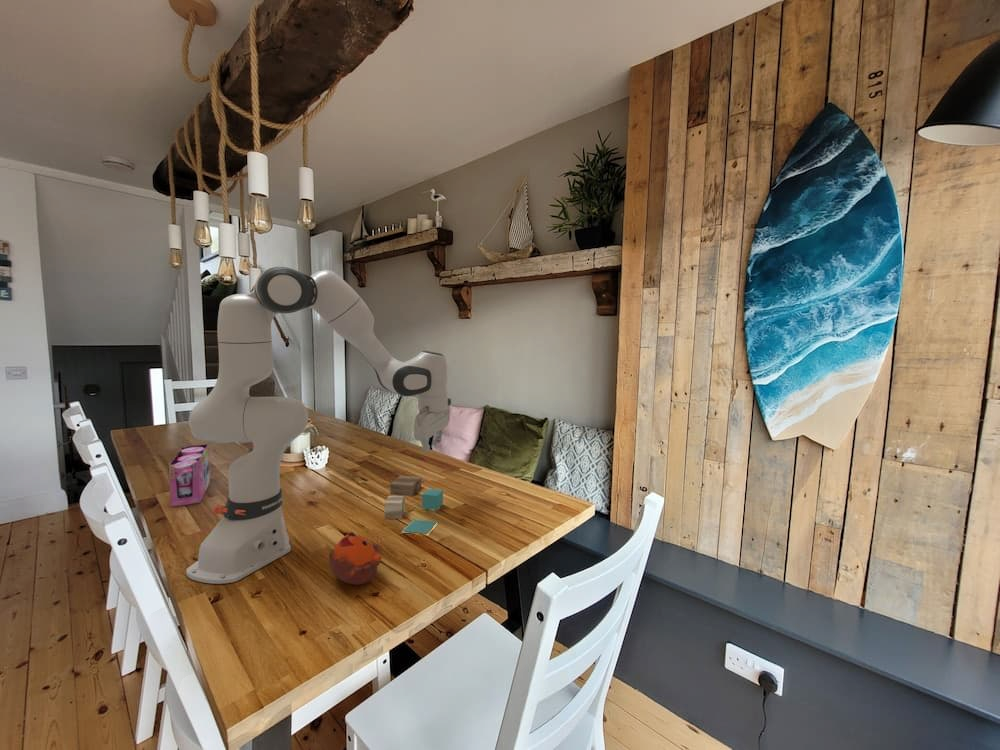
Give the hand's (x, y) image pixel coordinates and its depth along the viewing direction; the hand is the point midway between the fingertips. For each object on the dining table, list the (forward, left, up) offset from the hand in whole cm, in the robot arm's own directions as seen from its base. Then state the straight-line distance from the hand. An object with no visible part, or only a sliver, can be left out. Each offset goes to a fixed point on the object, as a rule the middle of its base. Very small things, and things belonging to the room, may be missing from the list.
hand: (432, 446), depth 128 cm
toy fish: (-40, +2, -20) cm, 45 cm away
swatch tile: (-14, -2, -20) cm, 24 cm away
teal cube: (0, 0, -20) cm, 20 cm away
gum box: (-10, +83, -20) cm, 86 cm away
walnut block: (+10, +14, -20) cm, 26 cm away
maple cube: (-8, +9, -20) cm, 23 cm away
